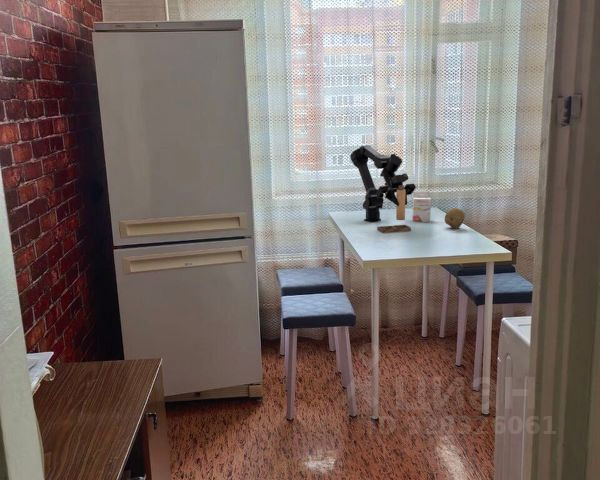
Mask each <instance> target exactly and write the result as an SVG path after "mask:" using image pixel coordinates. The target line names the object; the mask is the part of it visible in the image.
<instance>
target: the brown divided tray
mask: <svg viewBox="0 0 600 480" xmlns="http://www.w3.org/2000/svg"><path fill="white" fill-rule="evenodd" d="M376 230H377V231H379V232H380V233H381V234H388V233H401V232H412V231H411V230H412V227H411V226H408V225H406V224H395V225H382V226H377V227H376Z"/></svg>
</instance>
